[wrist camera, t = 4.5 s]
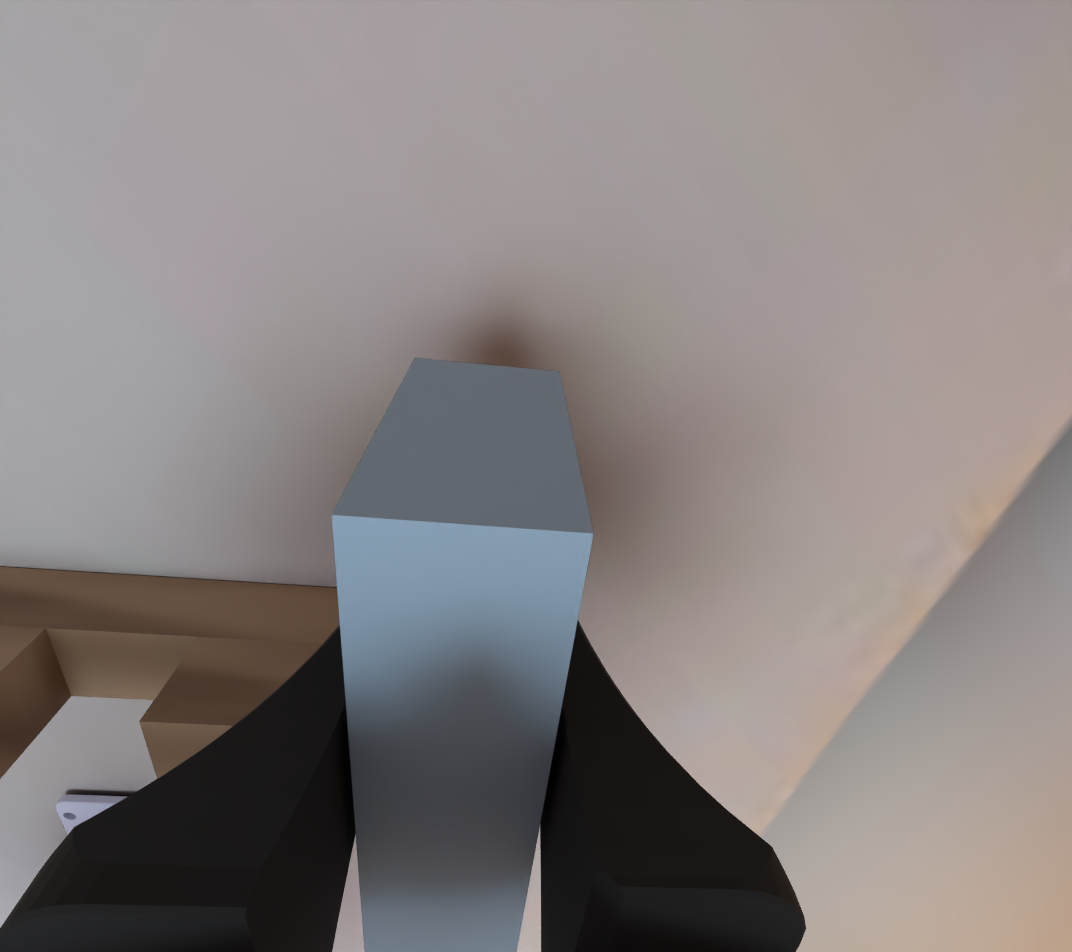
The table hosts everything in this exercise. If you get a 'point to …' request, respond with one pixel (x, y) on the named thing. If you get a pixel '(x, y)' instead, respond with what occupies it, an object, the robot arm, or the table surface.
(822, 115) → the table surface
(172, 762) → the walnut beam
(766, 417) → the table surface
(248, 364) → the table surface
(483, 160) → the table surface
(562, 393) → the slate crossbar
